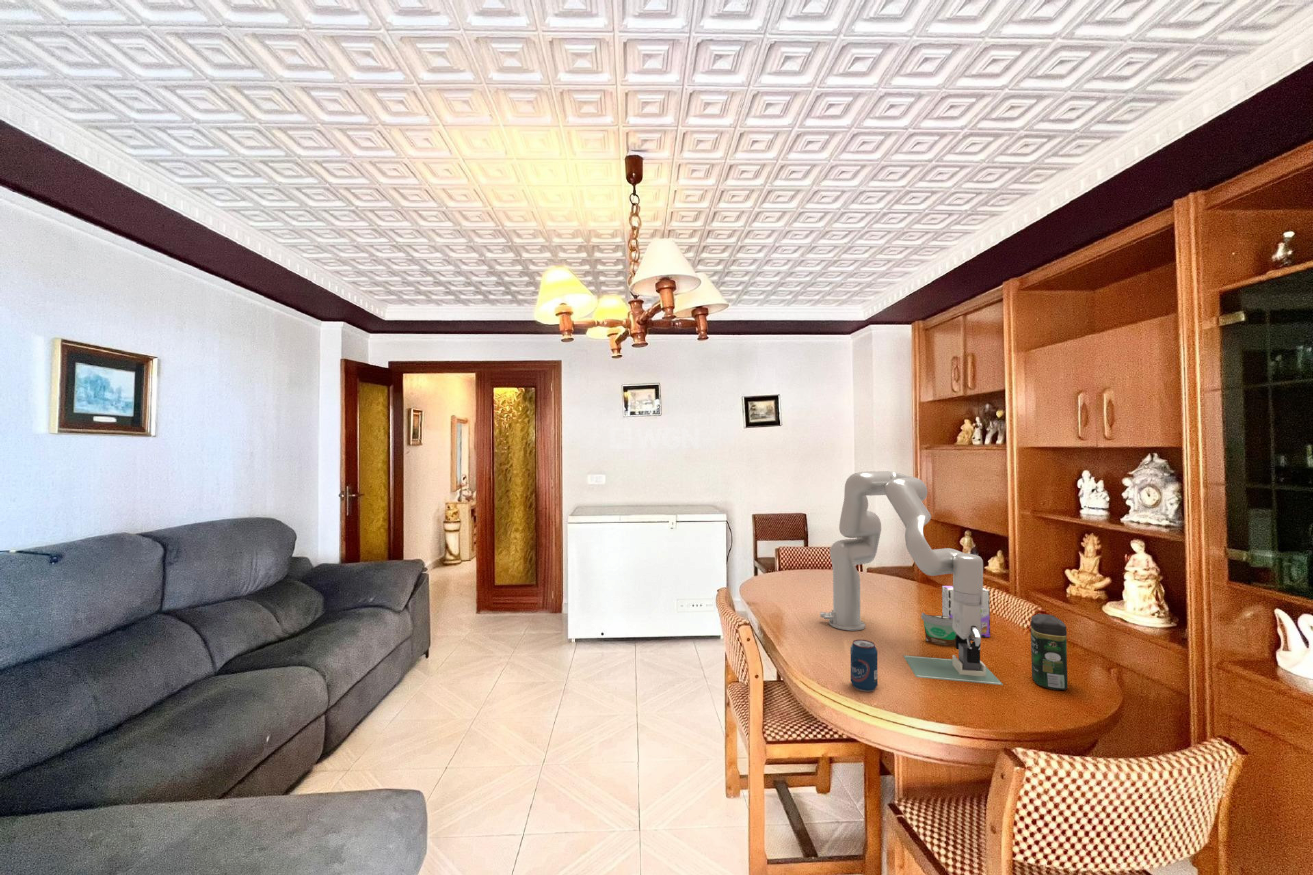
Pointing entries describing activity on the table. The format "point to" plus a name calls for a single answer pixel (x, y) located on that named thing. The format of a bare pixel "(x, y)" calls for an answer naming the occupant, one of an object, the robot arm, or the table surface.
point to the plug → (964, 658)
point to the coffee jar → (1049, 651)
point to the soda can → (864, 665)
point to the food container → (939, 629)
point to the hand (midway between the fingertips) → (967, 655)
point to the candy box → (984, 609)
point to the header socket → (958, 667)
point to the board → (945, 670)
